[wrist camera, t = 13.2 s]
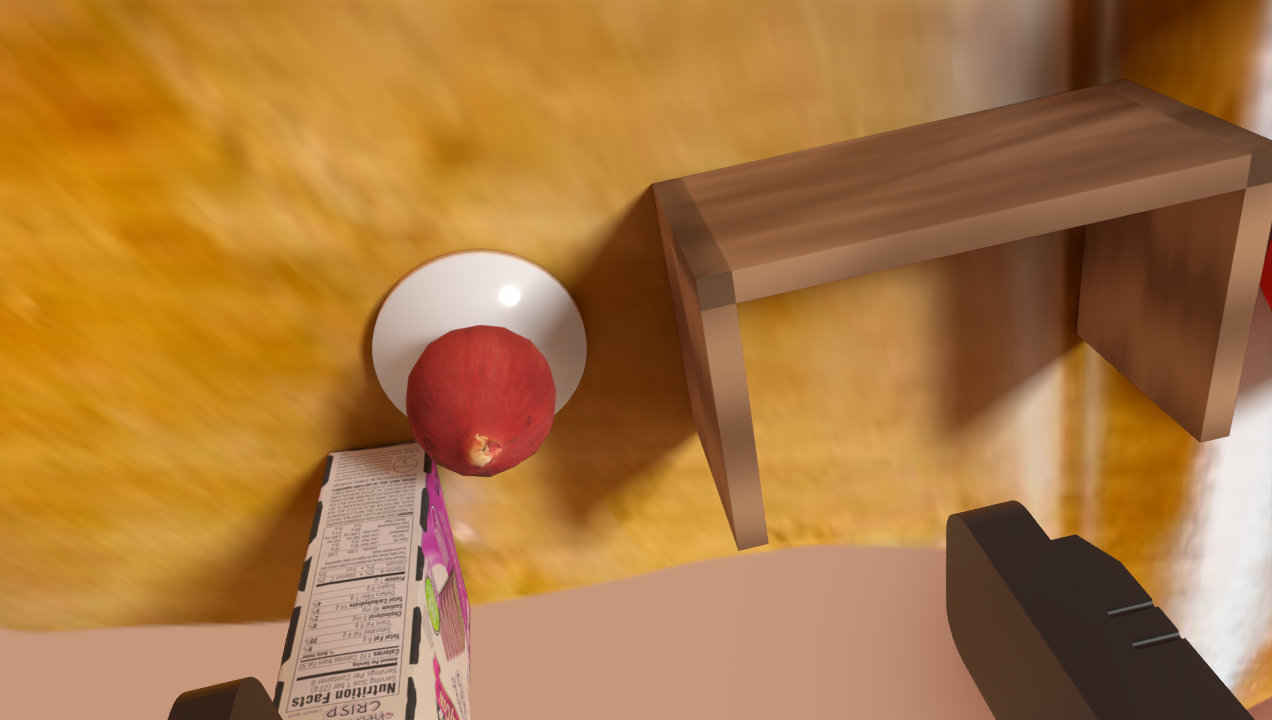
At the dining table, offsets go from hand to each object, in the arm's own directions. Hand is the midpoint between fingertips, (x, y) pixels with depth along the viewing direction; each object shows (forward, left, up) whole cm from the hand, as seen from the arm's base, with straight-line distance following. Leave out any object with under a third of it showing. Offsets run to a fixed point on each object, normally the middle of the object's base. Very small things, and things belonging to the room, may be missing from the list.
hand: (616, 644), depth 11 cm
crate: (+12, +14, -28) cm, 33 cm away
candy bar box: (+20, -11, -28) cm, 36 cm away
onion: (+11, -4, -28) cm, 30 cm away
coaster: (+11, -4, -28) cm, 31 cm away
